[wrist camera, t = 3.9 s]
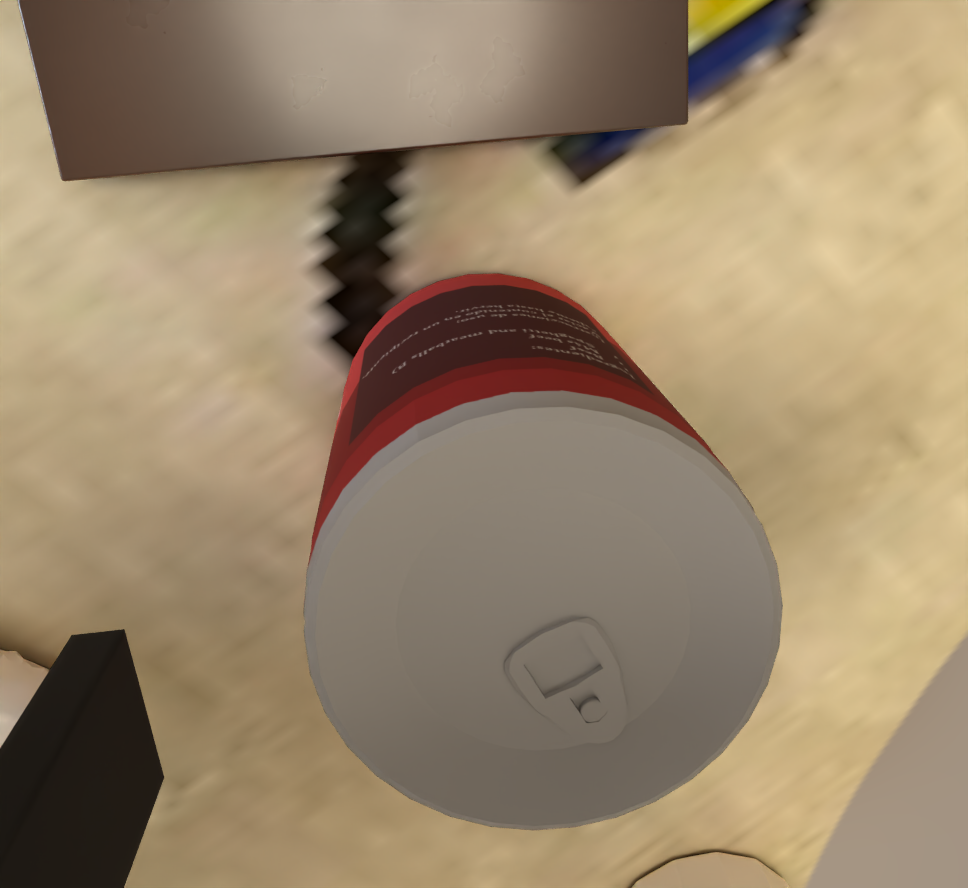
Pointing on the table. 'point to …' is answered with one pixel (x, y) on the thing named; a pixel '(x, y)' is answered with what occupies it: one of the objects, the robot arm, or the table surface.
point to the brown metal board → (342, 76)
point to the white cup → (713, 873)
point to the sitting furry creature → (16, 688)
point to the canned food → (529, 567)
